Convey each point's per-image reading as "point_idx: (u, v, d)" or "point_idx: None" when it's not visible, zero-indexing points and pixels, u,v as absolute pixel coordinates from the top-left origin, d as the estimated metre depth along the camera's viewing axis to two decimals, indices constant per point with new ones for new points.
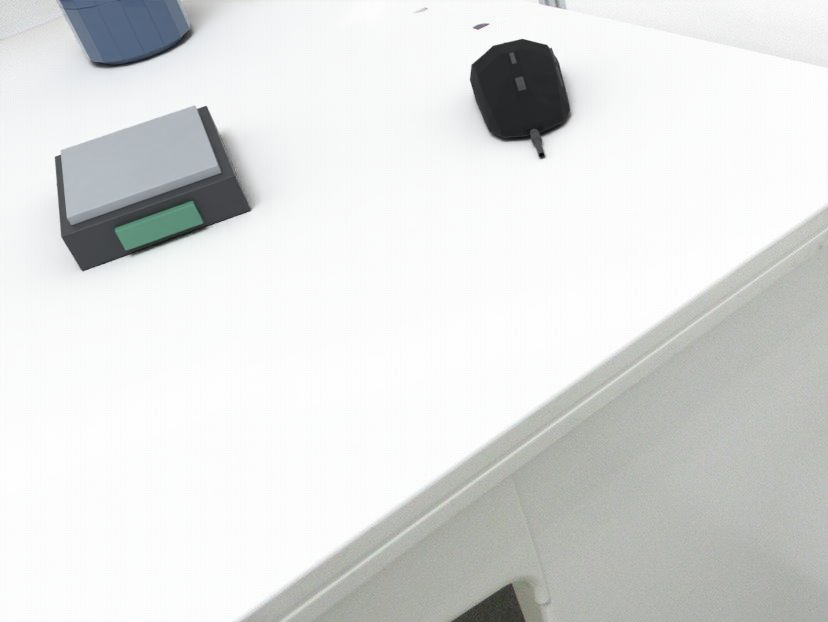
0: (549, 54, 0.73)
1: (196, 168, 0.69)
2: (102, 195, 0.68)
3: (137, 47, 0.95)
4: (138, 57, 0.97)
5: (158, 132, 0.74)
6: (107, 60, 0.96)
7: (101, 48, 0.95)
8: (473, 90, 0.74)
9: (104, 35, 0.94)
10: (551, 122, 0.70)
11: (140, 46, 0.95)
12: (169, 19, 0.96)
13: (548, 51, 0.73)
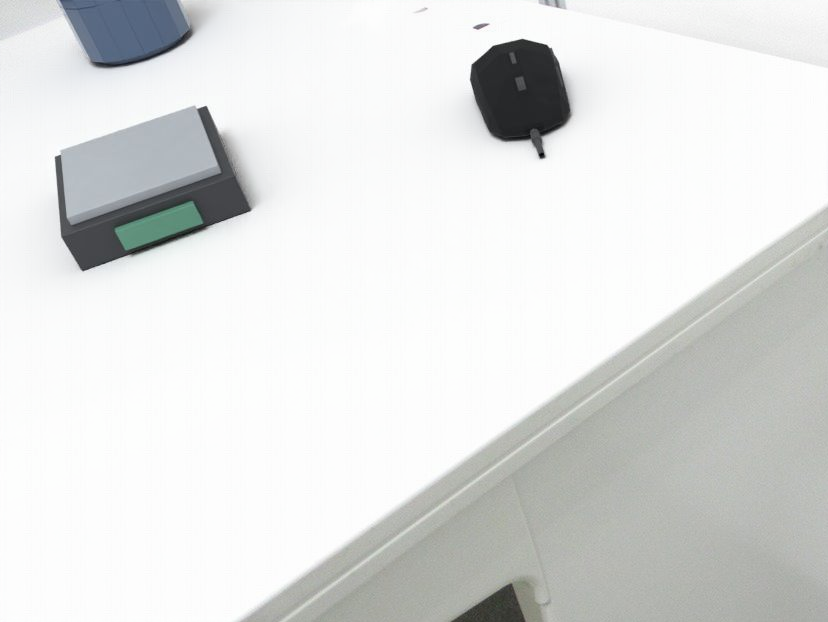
0: (549, 54, 0.73)
1: (196, 168, 0.69)
2: (102, 195, 0.68)
3: (137, 47, 0.95)
4: (138, 57, 0.97)
5: (158, 132, 0.74)
6: (107, 60, 0.96)
7: (101, 48, 0.95)
8: (473, 90, 0.74)
9: (104, 35, 0.94)
10: (551, 122, 0.70)
11: (140, 46, 0.95)
12: (169, 19, 0.96)
13: (548, 51, 0.73)
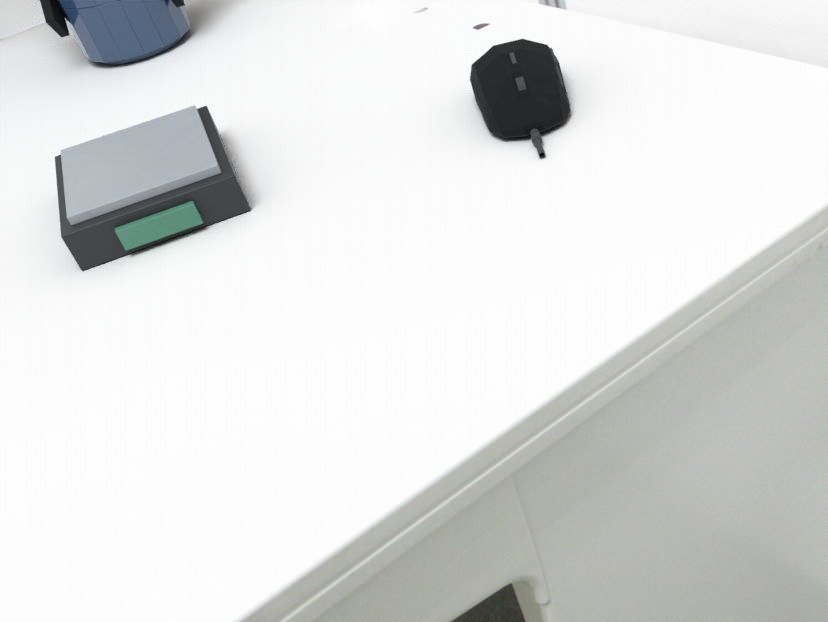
0: (549, 54, 0.73)
1: (196, 168, 0.69)
2: (102, 195, 0.68)
3: (137, 47, 0.95)
4: (138, 57, 0.97)
5: (158, 132, 0.74)
6: (107, 60, 0.96)
7: (101, 48, 0.95)
8: (473, 90, 0.74)
9: (104, 35, 0.94)
10: (551, 122, 0.70)
11: (140, 46, 0.95)
12: (169, 19, 0.96)
13: (548, 51, 0.73)
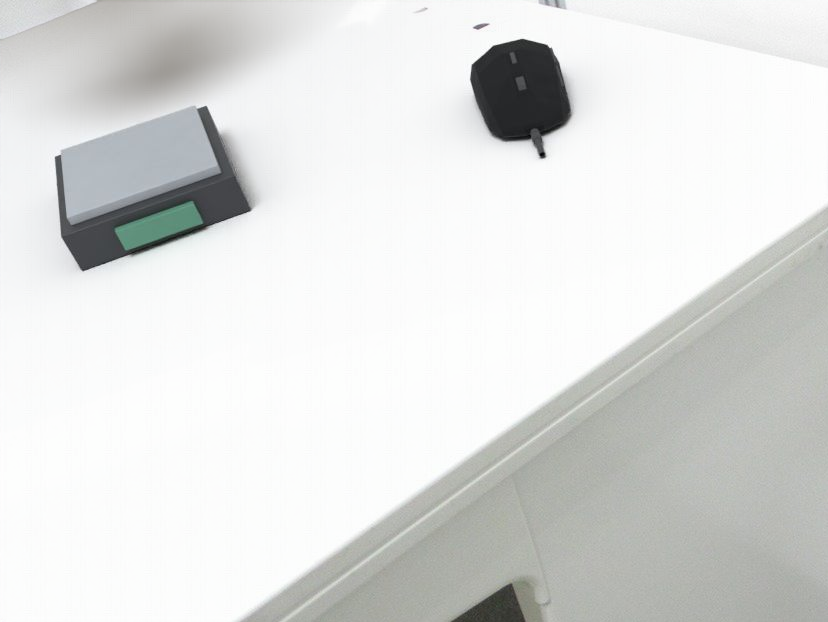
0: (549, 54, 0.73)
1: (196, 168, 0.69)
2: (102, 195, 0.68)
3: None
4: None
5: (158, 132, 0.74)
6: None
7: None
8: (473, 90, 0.74)
9: None
10: (551, 121, 0.70)
11: None
12: None
13: (548, 51, 0.73)
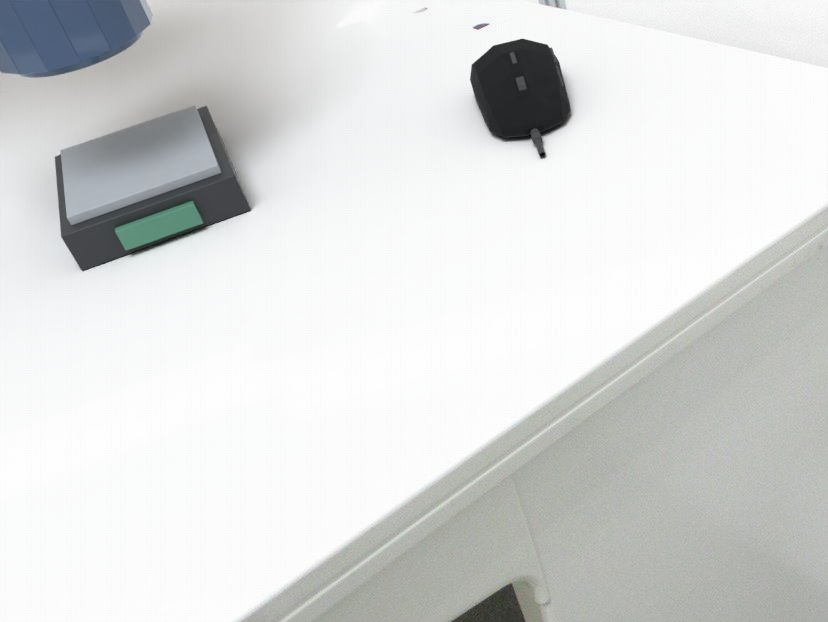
0: (549, 54, 0.73)
1: (196, 168, 0.69)
2: (102, 195, 0.68)
3: (69, 52, 0.63)
4: (72, 67, 0.64)
5: (158, 132, 0.74)
6: (24, 71, 0.63)
7: (14, 53, 0.63)
8: (473, 90, 0.74)
9: (17, 34, 0.62)
10: (552, 121, 0.70)
11: (73, 50, 0.63)
12: (118, 9, 0.64)
13: (548, 51, 0.73)
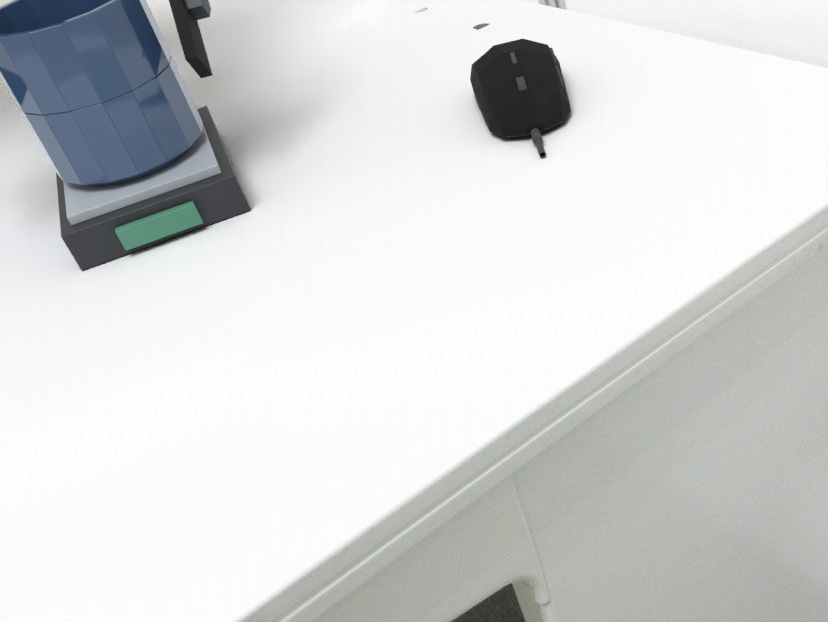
0: (549, 54, 0.73)
1: (196, 168, 0.69)
2: (102, 195, 0.68)
3: (129, 165, 0.68)
4: (130, 177, 0.69)
5: None
6: (87, 182, 0.68)
7: (78, 167, 0.67)
8: (473, 90, 0.74)
9: (82, 150, 0.67)
10: (552, 122, 0.70)
11: (133, 164, 0.68)
12: (174, 124, 0.69)
13: (548, 51, 0.73)
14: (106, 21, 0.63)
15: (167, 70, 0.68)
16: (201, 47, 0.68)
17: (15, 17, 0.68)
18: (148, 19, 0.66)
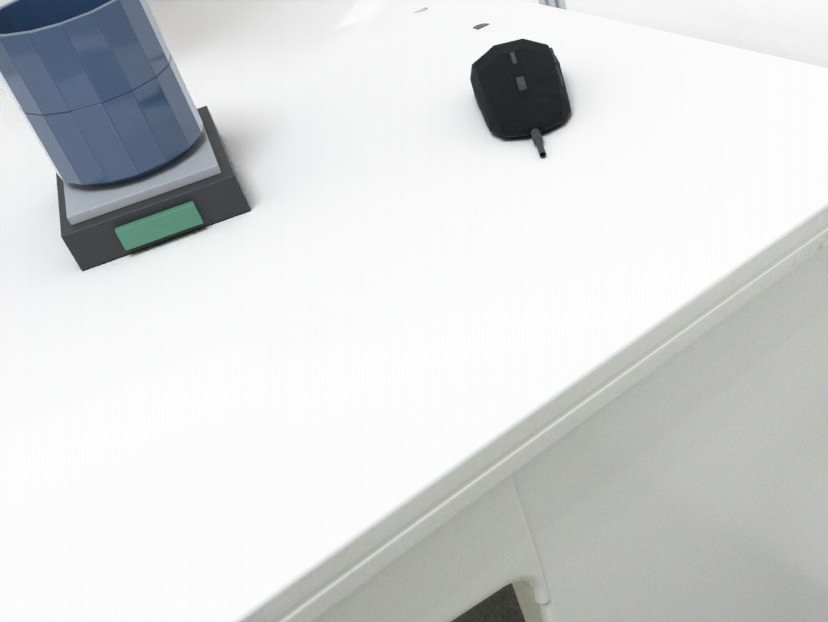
0: (550, 54, 0.73)
1: (196, 168, 0.69)
2: (102, 195, 0.68)
3: (129, 165, 0.68)
4: (130, 177, 0.69)
5: None
6: (87, 182, 0.68)
7: (78, 167, 0.67)
8: (473, 90, 0.74)
9: (82, 150, 0.67)
10: (552, 122, 0.70)
11: (133, 164, 0.68)
12: (174, 124, 0.69)
13: (548, 51, 0.73)
14: (106, 21, 0.63)
15: (167, 70, 0.68)
16: None
17: (15, 17, 0.68)
18: (148, 19, 0.66)
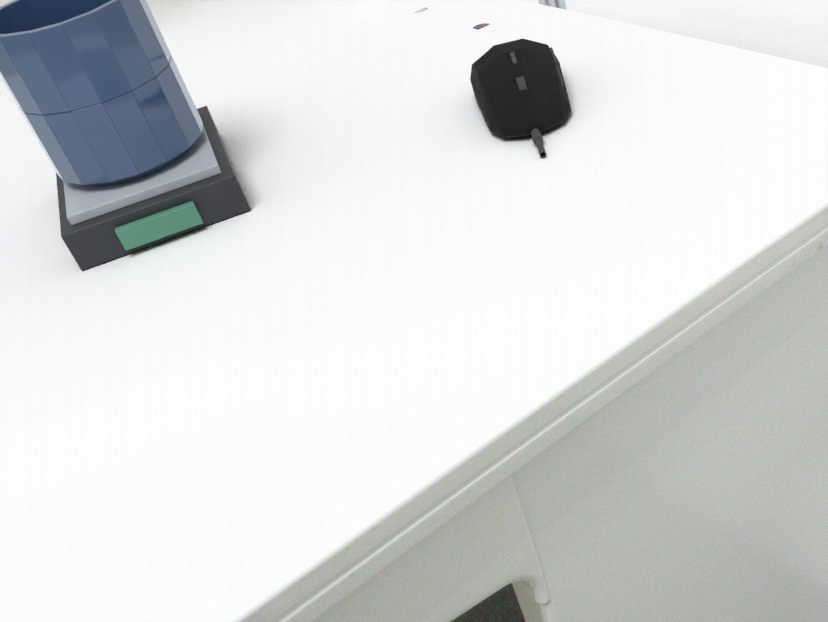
0: (550, 54, 0.73)
1: (196, 168, 0.69)
2: (102, 195, 0.68)
3: (129, 165, 0.68)
4: (130, 177, 0.69)
5: None
6: (87, 182, 0.68)
7: (78, 167, 0.67)
8: (474, 90, 0.74)
9: (82, 150, 0.67)
10: (552, 121, 0.70)
11: (133, 164, 0.68)
12: (174, 124, 0.69)
13: (549, 51, 0.73)
14: (106, 21, 0.63)
15: (167, 70, 0.68)
16: None
17: (15, 17, 0.68)
18: (148, 19, 0.66)
